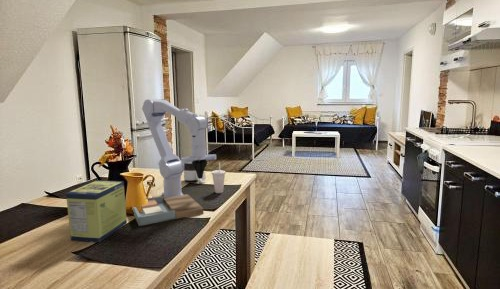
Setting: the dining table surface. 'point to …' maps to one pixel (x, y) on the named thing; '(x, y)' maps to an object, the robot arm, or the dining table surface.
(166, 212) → the box
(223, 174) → the smoothie
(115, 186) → the protein box
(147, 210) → the cream tile
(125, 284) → the dining table surface
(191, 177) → the spread jar
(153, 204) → the terracotta tile
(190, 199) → the walnut board
